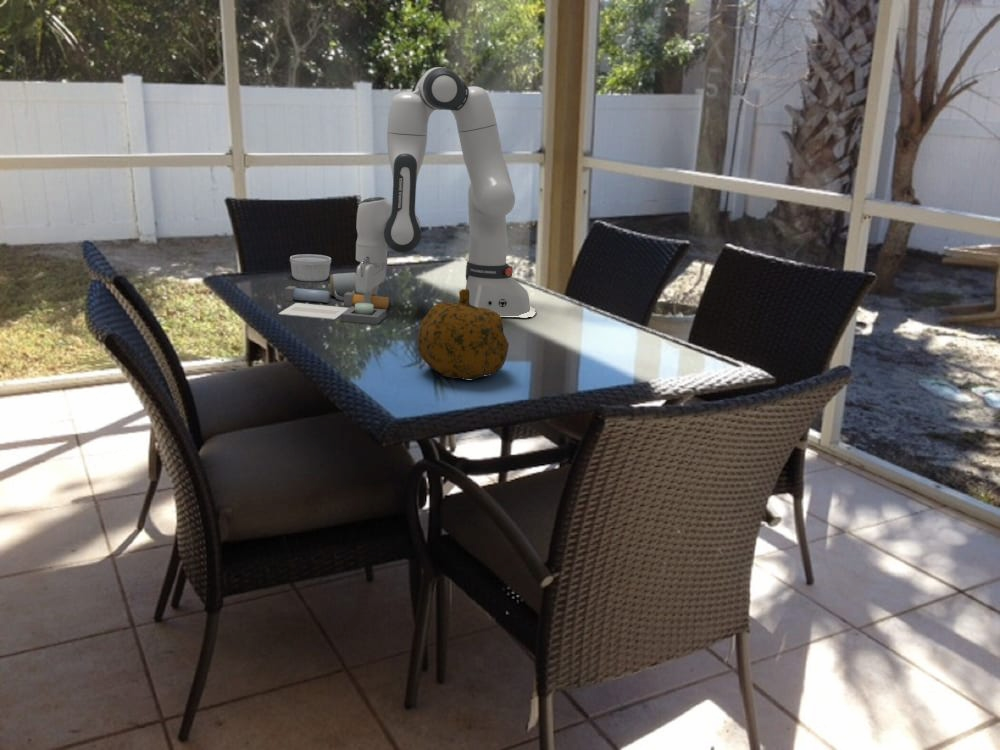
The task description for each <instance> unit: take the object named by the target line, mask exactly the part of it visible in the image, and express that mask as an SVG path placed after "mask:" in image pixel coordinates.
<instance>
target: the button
mask: <svg viewBox="0 0 1000 750" xmlns="http://www.w3.org/2000/svg"><path fill="white" fill-rule="evenodd" d="M354 307H355V313H356V314H364V315H369V314H373V304H371V303H356V304H355V306H354Z"/></svg>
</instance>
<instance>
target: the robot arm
mask: <svg viewBox="0 0 1000 750" xmlns="http://www.w3.org/2000/svg"><path fill="white" fill-rule="evenodd" d="M493 107H494V106H493V105H492V102H491V99H490V97H489V94H488V92H487V91H486V90H485V89H484V88H483V87H481V86H476V85H472V86H467V84H466V83H464V81H463V80H462V79H461V77H460V76H459V75H458V74H457V73H456V72H455V71H454V70H452V69H451V68H447V67H442V66H440V67H439V66H438V67H437V66H435V67H432V68H430V69H428V70H426V71H425V72H423V73H422V74H421V76H419V78H418V80H417V82H416V84H415V85H414V87H413V88H412V90H411V91H402V92H399V93H396V94H395V95H394V96H393V98H392V100H391V103H390V107H389V113H388V118H387V119H388V120H387V129H386V132H387V133H386V142H387V143H386V146H387V154H388V160H389V164H390V168H391V174H392V182H393V183H392V202H390V201H388V199H387V198H386V197H381V196H379V197H378V196H375V197H368V198H365V199H363V200H361V202H360V203H359V204H358V207H357V211H356V226H355V227H356V233H357V239H356V242H355V260H356V261H357V262H359V264H358V266H357V267H356V272H355V273H356V291H357V293H363V294H362V295H364V298H365V303H372V298H371V296H377V294H378V289H379V285H380V284H382V283H383V282H385V280H386V277H387V270H388V259H389V258H390V250H389V249H388V248H390V249H391V250H393V251H395V252H396V253H408V252H410V251H413V250H414V249H416V247H417V246H418V245H419V244H420V242H421V238H422V233H421V223H420V220H419V218H418V216H417V215H416V198H417V196H416V195H417V194H416V193H417V183H418V182H417V181H418V176H419V173H420V170H421V167H422V166H423V162H424V158H425V154H426V150H427V143H428V123H429V119H430V116H431V114H432V113H433V112H434V111H437V110H438V111H442V110H446V111H447V110H448V111H451V113H452V115H453V117H454V119H455V122H456V127H457V133H458V138H459V142H460V148H461V151H462V155H463V157H462V158H463V161H464V163H465V166H466V170H467V174H468V176H469V180H470V185H469V187H468V190H467V191H468V192H467V194H468V195H467V197H468V201H467V202H468V203H467V204H468V226H469V227H468V229H469V240H468V241H469V242H468V244H469V245H468V260H467V261H466V265H465V281H466V282H465V288H464V289H468V290H469V303H470V305H472V306H475V307H478V308H486V309H489V310H491V311H494V312H497V313H498V314H499V315H500V316H519V315H521V314H524V313H527V312H529V311H530V306H531V305H530V296H529V292H528V290H527V289H526V288H525V287H524V286H523V285H521V284H520V283H519V282H518V281H517V280H516V279H514V277H513V270H514V269H513V266H512V265H510V264H508V263H507V255H508V254H507V253H508V252H507V251H508V231H507V230H508V228H507V218H506V216H507V215H508V214H510V213H511V212H512V210H513V208H514V207H515V204H516V195H515V192H514V188H513V185H512V184H513V183H512V181H511V177H510V173H509V170H508V167H507V163H506V160H505V156H504V152H503V148H502V144H501V139H500V134H499V129H498V123H497V120H496V119H497V118H496V114H495V110H494V108H493Z"/></svg>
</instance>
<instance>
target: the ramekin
mask: <svg viewBox="0 0 1000 750" xmlns="http://www.w3.org/2000/svg"><path fill="white" fill-rule="evenodd" d="M289 262H290V268H291V275H292V277H293V278H294V279H295V280H296V281H301V282H323V281H327V279H328V278H329V277H330V270H331V263H332V258H331V257H330V256H327V255H324V254H323V255H322V254H309V253H307V254H295V255H291V256H290V257H289Z"/></svg>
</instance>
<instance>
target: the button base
mask: <svg viewBox="0 0 1000 750" xmlns="http://www.w3.org/2000/svg"><path fill="white" fill-rule="evenodd" d="M348 308H349V309H347V310H346V311H345V312H343V313H342V314H341V316H340V321H341V322H342V323H343V322H344V323H345V322H346V323H356V324H368V325H378V324H380V323H381V322H382V321H383V320H384V319H385V318H386V317H387V309H378V308H373V314H369V315H364V314H356V313H355V306H351V307H348Z"/></svg>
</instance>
